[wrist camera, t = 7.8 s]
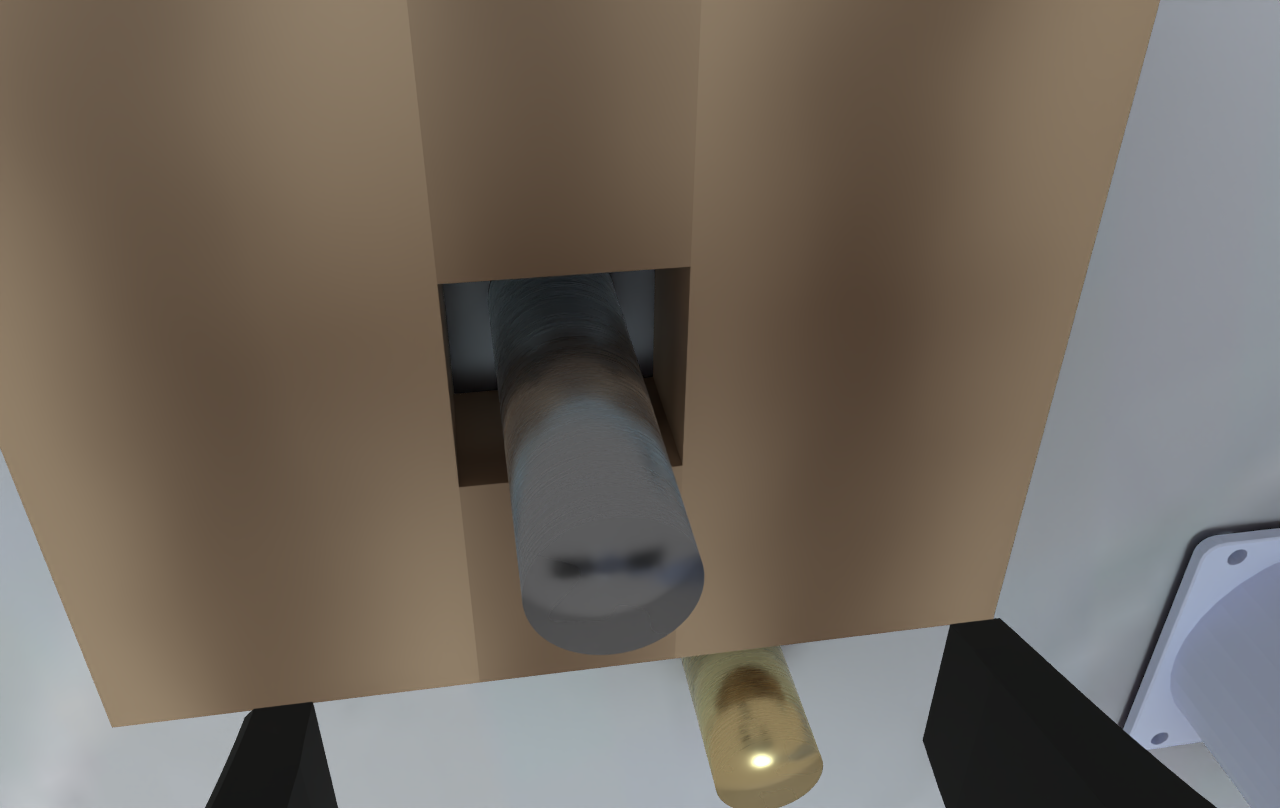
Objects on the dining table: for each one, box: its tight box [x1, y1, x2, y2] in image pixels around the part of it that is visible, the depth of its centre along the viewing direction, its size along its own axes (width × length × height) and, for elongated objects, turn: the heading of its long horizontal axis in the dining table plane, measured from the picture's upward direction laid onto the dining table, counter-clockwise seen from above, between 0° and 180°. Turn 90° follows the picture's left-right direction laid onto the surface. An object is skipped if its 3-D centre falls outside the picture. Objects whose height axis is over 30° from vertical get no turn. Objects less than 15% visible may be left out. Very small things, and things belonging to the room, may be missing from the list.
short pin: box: [681, 646, 823, 808], centre depth 25 cm, size 2×2×4 cm
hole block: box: [0, 0, 1160, 727], centre depth 19 cm, size 18×14×3 cm
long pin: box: [488, 272, 704, 655], centre depth 17 cm, size 2×2×8 cm
